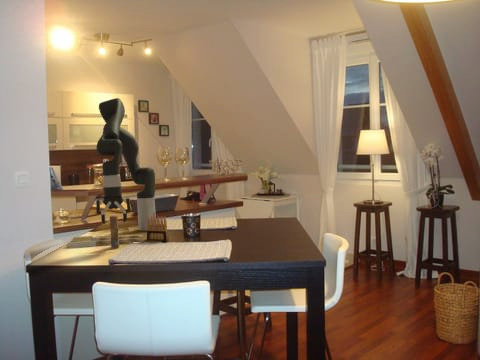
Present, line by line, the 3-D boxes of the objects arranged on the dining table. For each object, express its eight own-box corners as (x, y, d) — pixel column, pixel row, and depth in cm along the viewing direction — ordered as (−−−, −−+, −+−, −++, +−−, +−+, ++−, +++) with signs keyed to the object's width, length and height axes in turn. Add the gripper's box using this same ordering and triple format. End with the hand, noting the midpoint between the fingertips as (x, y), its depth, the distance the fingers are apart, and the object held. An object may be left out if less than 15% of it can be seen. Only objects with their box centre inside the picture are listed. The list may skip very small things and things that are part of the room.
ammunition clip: (168, 241, 220) (167, 215, 219) (166, 242, 218) (165, 216, 218) (149, 240, 224) (147, 215, 223) (146, 241, 222) (145, 215, 222)
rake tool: (119, 246, 210) (117, 215, 209) (118, 249, 205) (116, 216, 204) (112, 247, 210) (110, 215, 209) (111, 249, 205) (109, 217, 204)
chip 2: (93, 244, 219) (92, 235, 218) (91, 246, 215) (91, 237, 214) (84, 245, 218) (83, 236, 218) (82, 246, 214) (81, 237, 214)
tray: (99, 243, 222) (98, 236, 222) (96, 247, 212) (95, 241, 212) (72, 245, 221) (72, 238, 220) (67, 249, 210) (67, 243, 210)
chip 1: (84, 245, 218) (83, 236, 218) (82, 246, 214) (82, 237, 214) (74, 245, 218) (74, 236, 217) (73, 247, 214) (72, 238, 213)
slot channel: (143, 240, 226) (142, 234, 226) (141, 244, 214) (141, 238, 214) (99, 243, 223) (99, 237, 223) (95, 248, 211) (95, 241, 211)
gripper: (129, 183, 211) (131, 220, 212) (96, 185, 208) (98, 222, 210) (128, 185, 203) (130, 223, 204) (93, 187, 201) (96, 225, 202)
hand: (114, 222), depth 207 cm, fingers open, 8 cm apart
